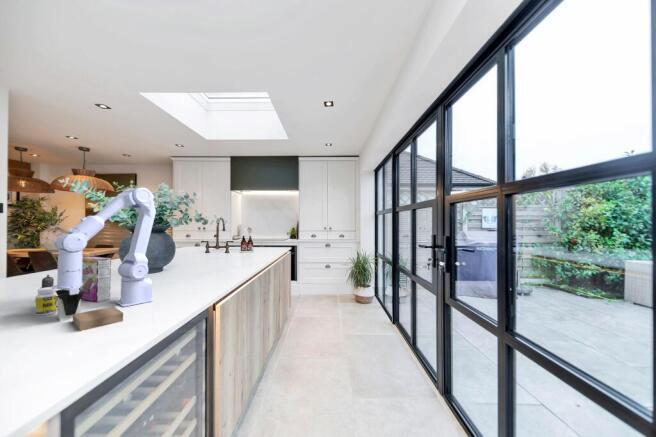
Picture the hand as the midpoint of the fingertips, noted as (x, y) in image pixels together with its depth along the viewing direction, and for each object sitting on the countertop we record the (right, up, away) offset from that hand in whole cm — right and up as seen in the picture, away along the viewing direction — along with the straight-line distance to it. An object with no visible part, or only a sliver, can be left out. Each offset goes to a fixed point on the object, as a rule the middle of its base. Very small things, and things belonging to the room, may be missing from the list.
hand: (69, 312), depth 85 cm
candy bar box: (-9, -2, +19) cm, 22 cm away
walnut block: (+12, -2, -3) cm, 12 cm away
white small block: (0, -2, 0) cm, 2 cm away
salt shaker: (-16, -2, +9) cm, 18 cm away
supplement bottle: (-11, -2, +4) cm, 12 cm away
